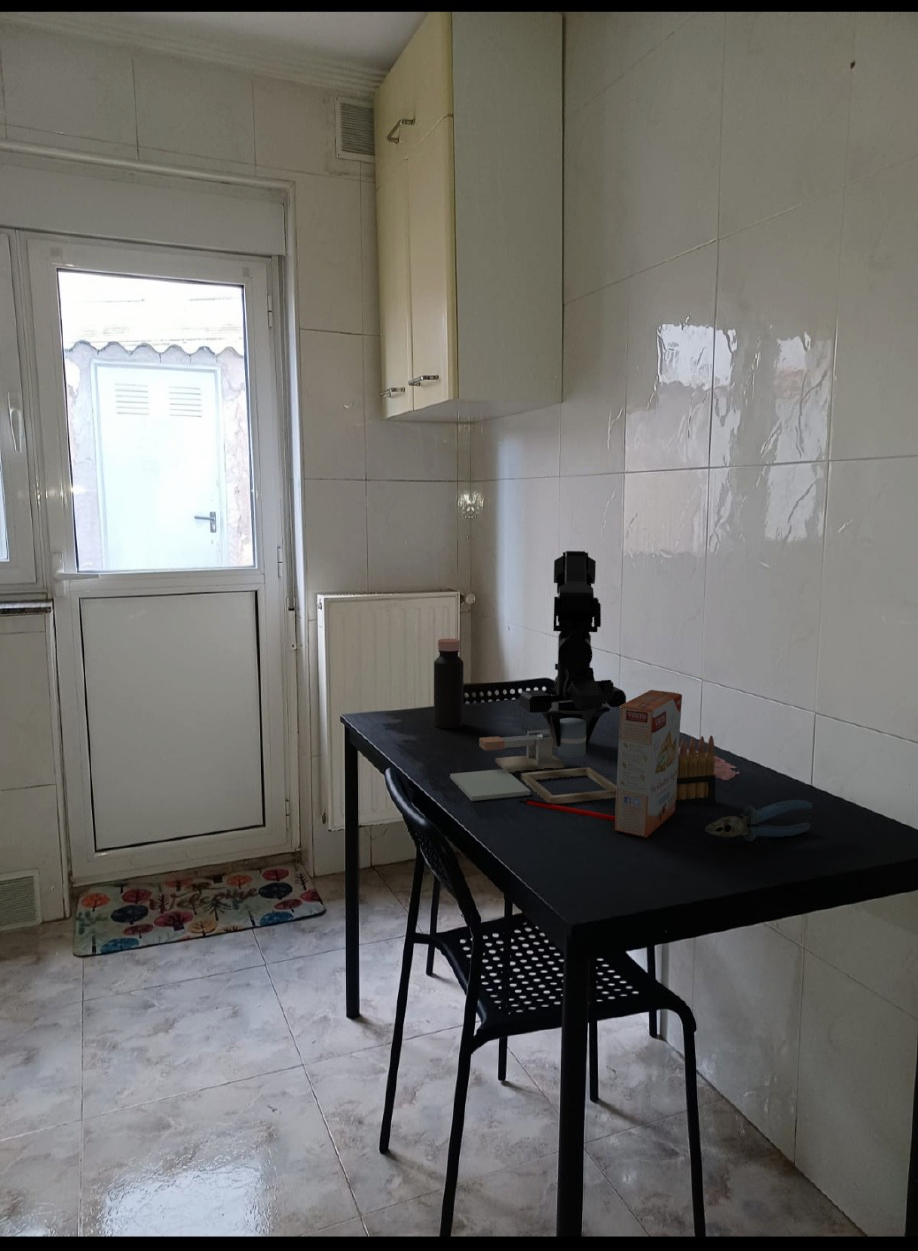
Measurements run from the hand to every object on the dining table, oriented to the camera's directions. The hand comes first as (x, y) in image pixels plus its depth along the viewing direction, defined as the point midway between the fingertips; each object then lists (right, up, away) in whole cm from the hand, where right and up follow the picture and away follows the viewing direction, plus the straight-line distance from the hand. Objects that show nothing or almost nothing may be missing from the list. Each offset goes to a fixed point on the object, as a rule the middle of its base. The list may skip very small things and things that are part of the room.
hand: (571, 745), depth 160 cm
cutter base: (-6, -6, +15) cm, 17 cm away
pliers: (+26, -12, -22) cm, 37 cm away
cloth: (+25, -7, +18) cm, 32 cm away
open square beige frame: (0, -8, +1) cm, 8 cm away
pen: (-1, -10, -10) cm, 15 cm away
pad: (-15, -8, +2) cm, 17 cm away
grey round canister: (0, -2, 0) cm, 2 cm away
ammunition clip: (+19, -10, -6) cm, 22 cm away
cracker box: (+10, -11, -15) cm, 21 cm away
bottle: (-23, -2, +44) cm, 50 cm away
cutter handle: (-8, -3, +14) cm, 16 cm away
